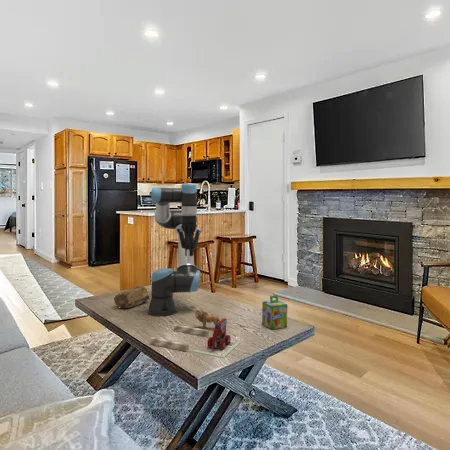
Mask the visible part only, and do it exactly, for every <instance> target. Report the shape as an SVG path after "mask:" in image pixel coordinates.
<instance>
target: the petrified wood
mask: <svg viewBox="0 0 450 450" xmlns="http://www.w3.org/2000/svg"><path fill="white" fill-rule="evenodd" d="M113 300H114V304H115V305H116V307H117V308H118V307H120V308H119V309H123V308H125V309H126V308H133V307H137V306H136V305H138V306H140V305H141V304H143V303H145V302H147V301H148V300H151V299H150V295H149V290H148V289H147V287H145V286H143V285H142V286H133V287H130V288H129V289H127V290H123V291H122V292H119V293H117V294H116V295H115V296H114V297H113ZM139 304H140V305H139ZM122 307H123V308H122Z"/></svg>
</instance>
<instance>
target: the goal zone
mask: <svg viewBox="0 0 450 450" xmlns="http://www.w3.org/2000/svg"><path fill="white" fill-rule="evenodd" d="M231 343H232V346H231V347H229V348H228V349H227V350H226V351H225V352H223V354H217V353H212V352H207V351H203V350H197V349H193V350H192V352H193V353H197V354H203V355H207V356H212V357H217V358H220V359H221V358H222V359H224V358H226V357H227V356H228V355H229V354H230V353H231V352H232V351H233V350H235V348H237V347H238V346H239V345H240V344H241V342H240V341H235V340H230V343H229V344H231Z"/></svg>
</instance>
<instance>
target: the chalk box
mask: <svg viewBox="0 0 450 450" xmlns="http://www.w3.org/2000/svg"><path fill="white" fill-rule="evenodd" d="M269 299H270V300H264V301H262V308H261V309H262V311H261V312H262V314H261V317H262V319H261V320H262V321H261V324H262V325H263V326H265V327H267V328H268V329H270V330H278V329H283V328H287V327H288V304H287V303H284V302H283V301H280V300H279V297H278V295H277V294H275V295H270V296H269ZM273 299H274V300H273Z"/></svg>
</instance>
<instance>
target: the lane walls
mask: <svg viewBox="0 0 450 450" xmlns="http://www.w3.org/2000/svg"><path fill="white" fill-rule="evenodd" d="M172 327H173V329H172V330H174V332H178V333H179V332H180V333H183V334H185V333H186V334H189V335H196V336H201V337H206V338H207V337H210V335H209V334H210V333H209V331H210V330H209V329H205V328H204V329H202V328H197V327H191V326H185V325H181V324H180V325H179V324H173V326H172ZM153 344H154V345H155V346H158V345H159V346H158V347H163V348H168V349H172V350H175V351H176V350H177V351H182V352H188V351H189V350H190V349H189V348H190V345H189V343H183V342H178V341H174V340H169V339H163V338H159V337H154V336H152V337H150V345H153ZM154 345H153V346H154Z"/></svg>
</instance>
